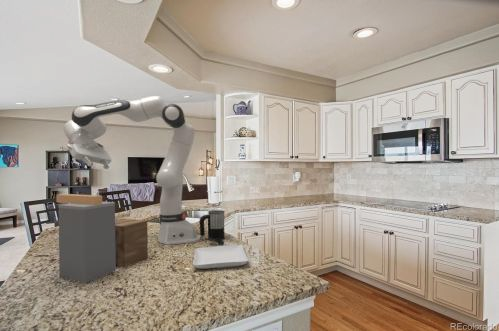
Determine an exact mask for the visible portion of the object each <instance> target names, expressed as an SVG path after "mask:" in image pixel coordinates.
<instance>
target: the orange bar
mask: <svg viewBox="0 0 499 331" xmlns="http://www.w3.org/2000/svg"><path fill="white" fill-rule="evenodd" d="M102 202H103V195H93V194H72V193H62V194H60V193H59V194H56V203H61V204H62V203H63V204H71V203H73V204H87V205H98V204H102Z"/></svg>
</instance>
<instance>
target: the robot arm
mask: <svg viewBox="0 0 499 331" xmlns="http://www.w3.org/2000/svg"><path fill="white" fill-rule="evenodd" d="M112 115H120V116H122V117H125V118H127V119H129V120H130V121H133V122H135V123H141V122H145V121H148V120H151V119H153V118H155V119H156V118H161V119H162V120H163V122H164V123H165V124H166V125H167V126H168V127H170V128H172V129H173V133H172V137H171V141H170V144H169V147H168V150H167V153H166V155H165V158H164V159H163V161H162V164H161V166H160V168H159V170H158V172H157V174H156V178H155V179H156V183H157V184H158V185H159V186H160V187H161V193H160V199H159V204H160V205H159V206H160V207H159V209H160V210H159V213H160V214H159V216H158V219H159V220H158V221H159V232H158V233H159V234H158V238H157V240H156V241H157V243H160V244H165V245H167V246H170V245H179V244H190V243H198V242H199V241H200V240H201V239H202V238H201V237H202V236H201V235H200V233H197V229H196V226H195V225H194V224H193V223H192V222H190V221H188V220H187V219H186V218H187V216H186V213H183V212H182V209H183V208H182V200H183V198H182V196H183V184H184V182H183V181H184V175H183V170H184V168H185V165H186V163H187V162H188V159H189V156H190V153H191V150H192V147H193V143H194V140H195V135H196V134H195V131H196V129H195V127H194V126H193V125H192V124H191V123H187V122H186V118H185V113H184V110H183V109H182V108H181V106H180V105H178V104H176V103H169V104H167V103H166V100H165V99H164V98H163V97H162V96H160V95H150V96H146V97H142V98H139V99H134V100H126V99H119V100H112V101H108V102H102V103H96V104H84V105H79V106H77V107H75V108H74V109H73V111H72V113H71V119H70V120H68V121H66V122H65V124H64V125H63V131H64V134H65V136H66V137H67V139H68V141H69V142H68V143H67V147H68V150H69V153H70V155H71V157H72V158H73V159H75V160H79V161H82V162H83V163H85V165H87V166H88V167H92V166H93V165H94V163H95V164H101V165H103V169H106V170H108V169H109V168H110V165H109V164H110V163H111V162H112V160H113V159H112V157H111V156H110V154H109V153H108V151H107V150H106V149H105V145H102V144H101V143H99V142H97V141H95V140H96V139H97V138H98V139H99V137H101V136H103V135H104V134H105V133H106V132H107V124H106V122H104V120H103V119H102V118H101V117H107V116H112Z"/></svg>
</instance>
